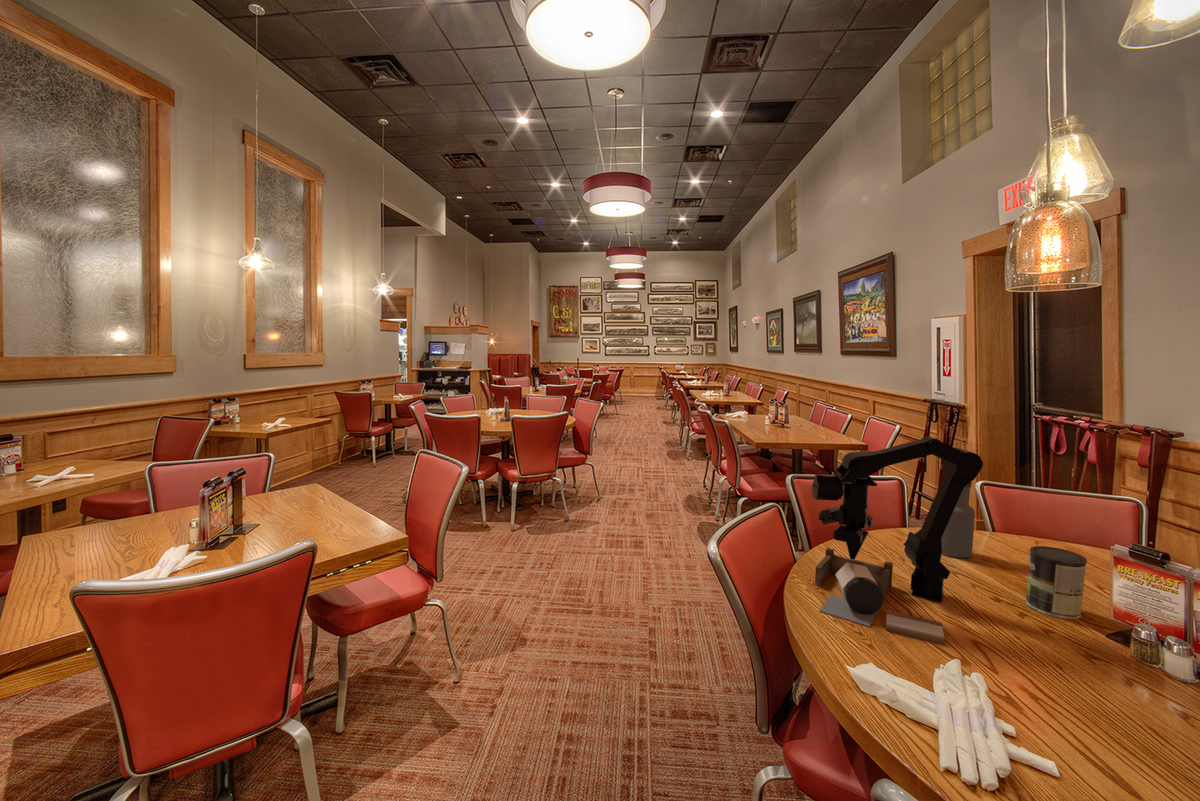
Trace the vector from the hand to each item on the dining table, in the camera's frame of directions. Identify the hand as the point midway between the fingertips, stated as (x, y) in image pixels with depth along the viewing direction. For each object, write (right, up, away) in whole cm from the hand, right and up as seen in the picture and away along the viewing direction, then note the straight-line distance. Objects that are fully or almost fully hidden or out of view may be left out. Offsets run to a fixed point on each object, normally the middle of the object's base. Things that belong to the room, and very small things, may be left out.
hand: (852, 558), depth 132 cm
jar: (-1, -5, -2) cm, 5 cm away
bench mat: (-6, -9, -11) cm, 15 cm away
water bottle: (+45, -7, +26) cm, 53 cm away
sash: (+4, -10, -19) cm, 22 cm away
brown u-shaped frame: (+1, -8, +3) cm, 9 cm away
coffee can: (+45, -10, -9) cm, 47 cm away
